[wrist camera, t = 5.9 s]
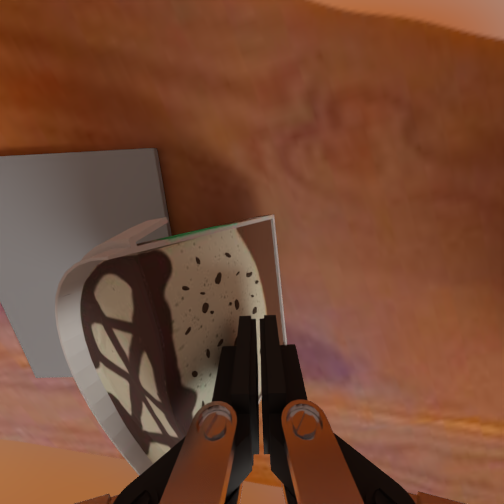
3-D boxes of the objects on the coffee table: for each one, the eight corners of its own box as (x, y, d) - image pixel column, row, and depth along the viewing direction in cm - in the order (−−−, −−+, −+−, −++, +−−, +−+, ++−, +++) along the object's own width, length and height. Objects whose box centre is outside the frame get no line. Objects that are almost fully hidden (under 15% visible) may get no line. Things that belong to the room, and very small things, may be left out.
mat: (156, 148, 15) (153, 147, 14) (194, 369, 21) (192, 374, 21) (-55, 160, 16) (-67, 159, 15) (41, 372, 22) (35, 377, 21)
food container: (191, 196, 17) (2, 234, 9) (271, 188, 14) (99, 234, 6) (220, 342, 21) (108, 466, 12) (288, 360, 18) (201, 540, 9)
